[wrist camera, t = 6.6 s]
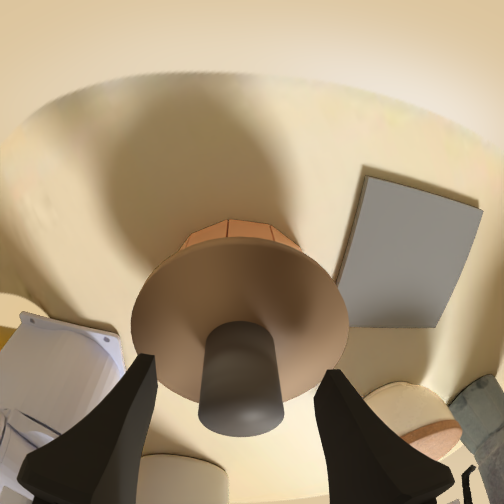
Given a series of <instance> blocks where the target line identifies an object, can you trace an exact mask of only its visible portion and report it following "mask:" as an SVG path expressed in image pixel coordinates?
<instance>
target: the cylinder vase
mask: <svg viewBox="0 0 504 504" xmlns="http://www.w3.org/2000/svg"><path fill="white" fill-rule="evenodd" d="M136 504H229V478H228V475H227V474H226V472H225V471H223V470H222V469H221V468H219V467H218V466H216V465H213V464H211V463H208V462H206V461H202V460H199V459H195V458H190V457H185V456H178V455H168V454H154V455H147V456H143V457H141V460H140V467H139V474H138V483H137V494H136Z"/></svg>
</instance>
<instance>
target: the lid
mask: <svg viewBox="0 0 504 504" xmlns="http://www.w3.org/2000/svg"><path fill="white" fill-rule="evenodd" d="M348 334H349V318H348V311H347V308H346V305H345V302H344V300H343V298H342V296H341V294H340V292H339V290H338V288H337V286H336V284H335V283H334V281H333V279H332V278H331V277H330V275H329V274H328V273H327V272H326V270H325V269H323V268H322V267H321V266H320V265H319V264H318V263H317V262H316V261H315V260H313V259H312V258H310V257H309V256H307V255H306V254H304V253H303V252H301V251H299V250H297V249H295V248H293V247H290V246H288V245H285V244H282V243H279V242H276V241H272V240H267V239H262V238H255V237H223V238H218V239H212V240H207V241H204V242H200V243H197V244H194V245H191V246H189V247H187V248H185V249H183V250H180V251H178V252H177V253H175V254H174V255H172V256H171V257H169V258H168V259H166V260H165V261H164V262H163V263H161V264H160V265H159V266H158V267H157V268H156V269H155V270H154V271H153V272H152V274H151V275H150V276H149V277H148V279H147V280H146V282H145V284H144V285H143V287H142V289H141V291H140V293H139V295H138V297H137V299H136V302H135V305H134V307H133V311H132V317H131V335H132V340H133V344H134V347H135V349H136V352H137V354H140V353H144V354H149V355H155V363H156V374H157V380H158V381H159V382H160V383H162V384H163V385H164V386H165V387H167V388H168V389H170V390H171V391H173V392H175V393H177V394H178V395H180V396H182V397H184V398H187V399H189V400H192V401H194V402H197V403H199V410H198V417H199V420H200V421H201V423H202V424H203V425H204V426H205V427H206V428H208V429H209V430H211V431H213V432H216V433H218V434H222V435H226V436H232V437H250V436H256V435H260V434H263V433H266V432H269V431H271V430H273V429H274V428H276V427H277V426H278V425H279V424H280V423H281V422H282V420H283V418H284V408H283V402H286V401H288V400H290V399H293V398H295V397H297V396H299V395H301V394H303V393H305V392H307V391H308V390H310V389H311V388H313V387H314V386H316V385H317V384H318V383H319V382H321V381H322V379H323V377H324V375H325V373H326V371H327V369H333V368H334V367H335V365H336V364H337V363H338V361H339V359H340V357H341V356H342V354H343V352H344V349H345V346H346V344H347V339H348Z"/></svg>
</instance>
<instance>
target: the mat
mask: <svg viewBox="0 0 504 504" xmlns="http://www.w3.org/2000/svg"><path fill="white" fill-rule="evenodd" d="M482 214H483V210H481V209H479V208H476V207H473V206H470V205H467V204H464V203H461V202H458V201H455V200H452V199H449V198H446V197H443V196H439V195H436V194H433V193H430V192H426V191H423V190H419V189H416V188H412V187H409V186H405V185H401V184H398V183H394V182H390V181H386V180H382V179H378V178H374V177H370V176H366V175H365V180H364V184H363V188H362V192H361V196H360V200H359V204H358V208H357V212H356V216H355V220H354V223H353V227H352V231H351V234H350V238H349V241H348V245H347V248H346V252H345V255H344V259H343V262H342V265H341V268H340V272H339V275H338V278H337V281H336V286H337V288H338V290H339V292H340V294H341V296H342V298H343V300H344V302H345V305H346V308H347V311H348V318H349V327H375V328H435V327H436V325H437V323H438V321H439V319H440V317H441V315H442V313H443V311H444V309H445V307H446V305H447V303H448V301H449V299H450V297H451V295H452V293H453V290H454V288H455V286H456V284H457V282H458V279H459V277H460V275H461V272H462V270H463V267H464V265H465V262H466V260H467V257H468V255H469V252H470V249H471V247H472V244H473V241H474V238H475V236H476V233H477V230H478V227H479V224H480V221H481V218H482Z"/></svg>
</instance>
